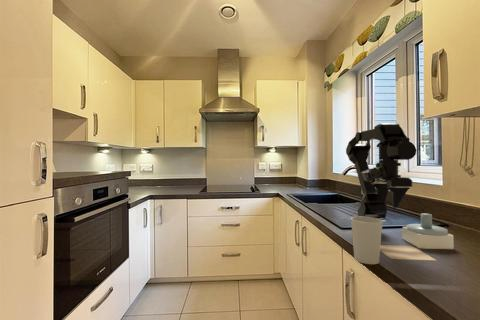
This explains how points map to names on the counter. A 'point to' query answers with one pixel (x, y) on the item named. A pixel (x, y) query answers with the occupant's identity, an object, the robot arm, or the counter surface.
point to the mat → (404, 253)
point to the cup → (366, 239)
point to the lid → (427, 227)
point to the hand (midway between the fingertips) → (388, 205)
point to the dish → (428, 240)
